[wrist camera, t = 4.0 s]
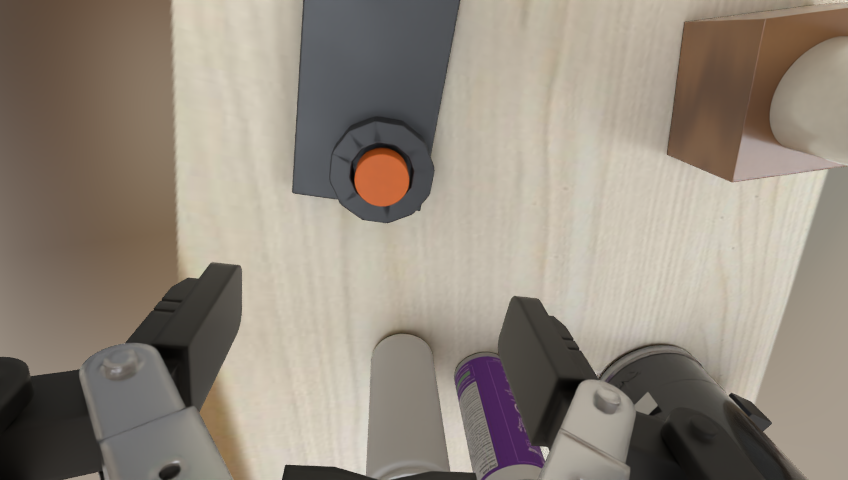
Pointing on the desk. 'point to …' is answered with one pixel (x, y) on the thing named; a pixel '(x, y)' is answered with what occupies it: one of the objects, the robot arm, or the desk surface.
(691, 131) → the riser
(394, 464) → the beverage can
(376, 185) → the button
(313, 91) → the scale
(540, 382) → the robot arm
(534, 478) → the container
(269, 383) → the desk surface
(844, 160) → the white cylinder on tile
